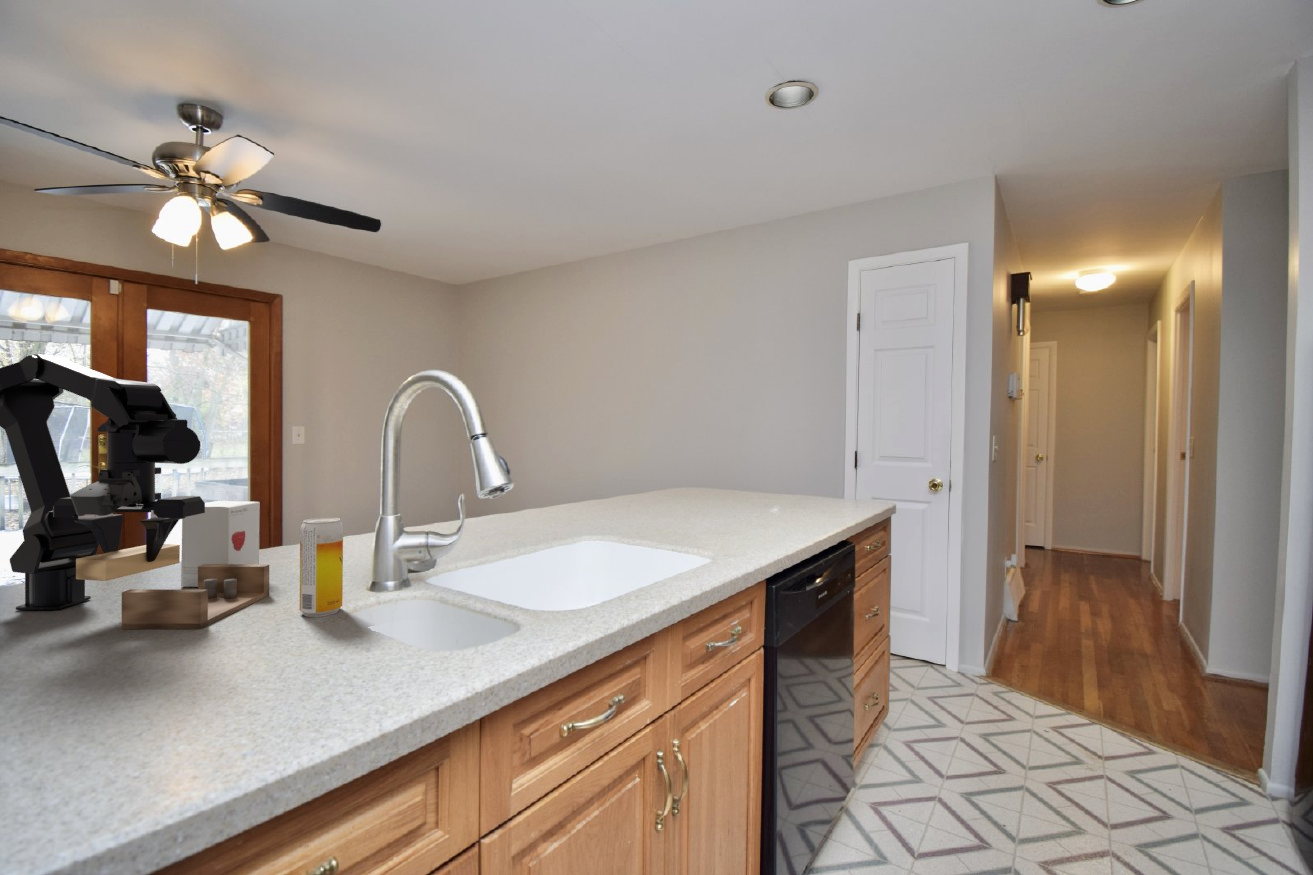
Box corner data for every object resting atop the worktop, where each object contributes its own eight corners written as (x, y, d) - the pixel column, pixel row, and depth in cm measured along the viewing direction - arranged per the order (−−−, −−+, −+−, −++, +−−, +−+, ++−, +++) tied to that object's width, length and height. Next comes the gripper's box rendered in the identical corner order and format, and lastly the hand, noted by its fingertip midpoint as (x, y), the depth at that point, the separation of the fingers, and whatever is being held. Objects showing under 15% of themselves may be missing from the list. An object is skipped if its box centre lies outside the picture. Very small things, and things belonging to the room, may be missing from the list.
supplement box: (227, 589, 112) (228, 507, 111) (179, 587, 112) (179, 506, 111) (261, 576, 121) (261, 500, 120) (216, 575, 121) (216, 499, 120)
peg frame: (121, 629, 89) (121, 592, 89) (203, 594, 107) (204, 564, 107) (200, 628, 90) (200, 592, 90) (269, 594, 108) (269, 564, 108)
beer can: (350, 607, 102) (351, 517, 101) (327, 619, 96) (327, 523, 95) (315, 605, 102) (316, 516, 102) (290, 617, 96) (291, 522, 96)
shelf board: (76, 579, 90) (75, 559, 90) (152, 561, 102) (153, 543, 102) (105, 581, 90) (105, 560, 89) (179, 562, 101) (179, 544, 101)
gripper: (17, 464, 87) (17, 574, 87) (155, 466, 88) (155, 574, 88) (85, 460, 98) (85, 557, 98) (207, 461, 99) (207, 557, 100)
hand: (131, 561), depth 96 cm, fingers closed on shelf board, 5 cm apart
